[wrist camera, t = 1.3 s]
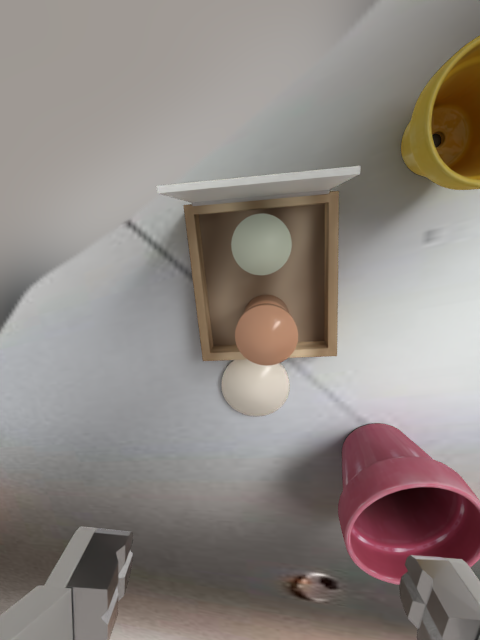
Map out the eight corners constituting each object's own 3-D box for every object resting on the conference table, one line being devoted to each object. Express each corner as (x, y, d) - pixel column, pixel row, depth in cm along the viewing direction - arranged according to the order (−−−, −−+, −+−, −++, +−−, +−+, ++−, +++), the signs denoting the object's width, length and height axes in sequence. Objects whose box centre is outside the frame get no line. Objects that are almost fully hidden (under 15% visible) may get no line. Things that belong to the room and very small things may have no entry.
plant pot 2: (394, 503, 46) (440, 605, 34) (306, 470, 45) (321, 561, 33) (449, 429, 41) (525, 514, 29) (353, 391, 41) (389, 462, 29)
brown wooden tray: (332, 193, 34) (339, 190, 31) (331, 346, 39) (336, 355, 36) (190, 206, 36) (183, 205, 33) (207, 351, 41) (202, 361, 38)
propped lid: (328, 185, 31) (360, 165, 21) (328, 194, 32) (360, 179, 21) (192, 198, 33) (156, 185, 22) (193, 206, 33) (158, 198, 22)
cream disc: (287, 351, 40) (288, 354, 39) (290, 412, 43) (290, 415, 42) (219, 354, 41) (218, 356, 40) (225, 413, 43) (224, 417, 43)
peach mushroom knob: (291, 289, 37) (297, 304, 30) (293, 340, 39) (299, 364, 32) (238, 292, 38) (232, 308, 31) (242, 342, 39) (237, 366, 33)
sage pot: (286, 212, 34) (290, 210, 29) (288, 265, 36) (292, 273, 30) (234, 217, 35) (228, 216, 29) (239, 268, 37) (233, 277, 31)
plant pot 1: (369, 189, 34) (408, 176, 24) (397, 76, 30) (454, 12, 21) (466, 203, 33) (543, 195, 24) (504, 90, 30) (611, 30, 21)
